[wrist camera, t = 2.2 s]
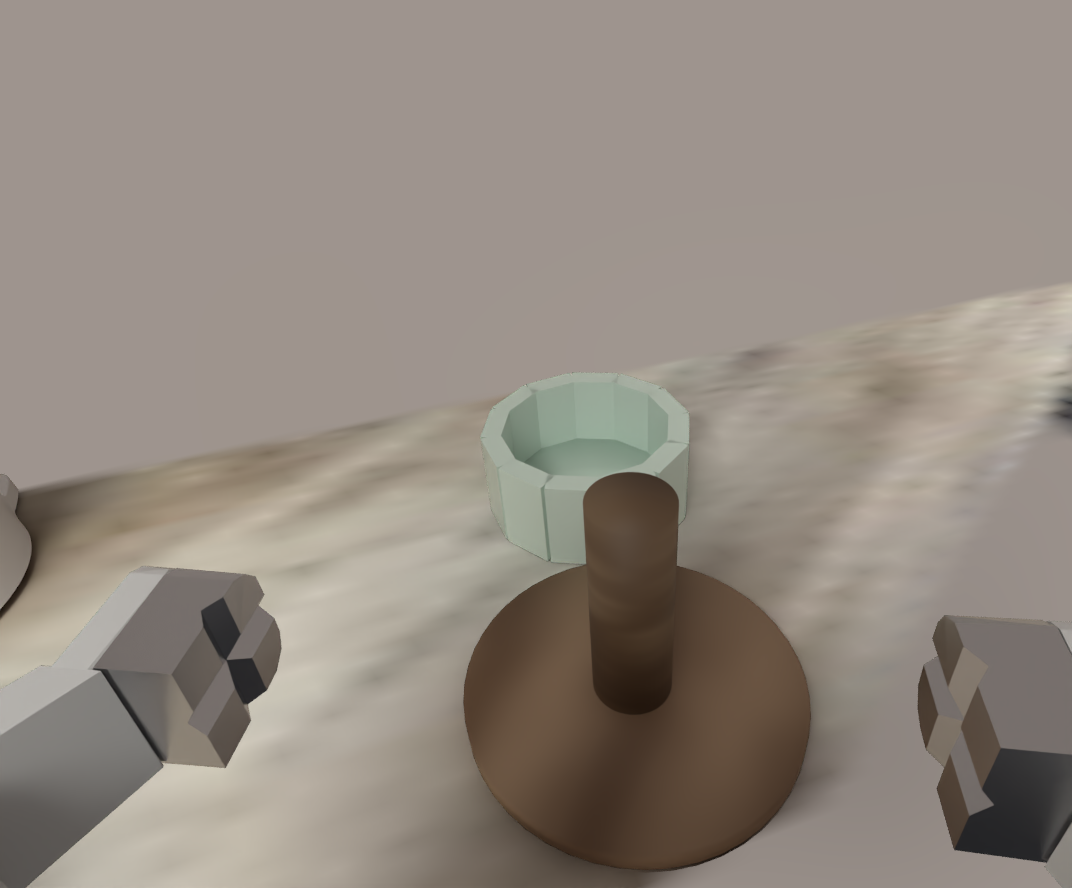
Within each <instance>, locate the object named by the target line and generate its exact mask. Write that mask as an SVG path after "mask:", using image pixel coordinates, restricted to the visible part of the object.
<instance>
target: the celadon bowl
mask: <svg viewBox="0 0 1072 888" xmlns="http://www.w3.org/2000/svg"><path fill="white" fill-rule="evenodd" d="M480 438H481V446H482V453H483V459H484V466H485V472H486V479H487V486H488V492H489V499H490V506H491V510H492V512H493V514H494V516H495V518H496V520H497V522H498V524H499V526H500V527H501V529H502V531H503V533H504V535H505V537H506V539H508V541H510V542H512V543H514V544H515V545H517V546H519V547H521V548H523V549H525V550H527V551H529V552H531V553H533V554H535V555H537V556H538V557H540V558H542V559H544V560H546V561H549V560H550V559H551V562H555V563H572V564H586V551H585V534H584V516H583V498H584V495H585V493H586V491H587V489H588V488H589V487H590V486H591V485H592V484H593V483H595V482H596V481H598V480H599V479H601V478H603V477H605V476H608V475H611V474H615V473H621V472H640V473H646V474H650V475H653V476H656V477H658V478H660V479H662V480H664V481H665V482H667V483H668V484H669V485H670V486H671V487H672V488H673V489H674V490H675V491H676V493H677V495H678V499H679V517H678V525H679V524H680V523H681V522H682V521H683V520H684V519H685V516H686V499H687V478H688V457H689V413H688V411H687V410H686V409H685V408H684V407H683V406H682V405H681V404H680V403H679V402H678V401H677V400H676V399H675V398H674V397H673V396H672V395H671V394H670V393H669V392H668V391H667V390H666V389H665V388H661V386H658V385H655V384H652V383H649V382H646V381H643V380H640V379H637V378H634V377H631V376H627V375H624V374H620V375H619V376H618V373H577V372H576V373H572V375H571V374H570V373H567V374H563V375H559V376H556V377H552V378H548V379H544V380H540V381H536V382H533V383H529V384H526V386H524V385H523V386H522V387H521V388H519V389H518V390H516V391H515V392H513V393H512V394H510V395H509V396H508V397H506V398H505V399H503V400H502V401H500V402H499V403H498V404H496V405H495V406H493V409H491V410H490V413H489V415H488V418H487V421H486V423H485V426H484V429H483V431H482V434H481V436H480Z"/></svg>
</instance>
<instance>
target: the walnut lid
mask: <svg viewBox="0 0 1072 888" xmlns="http://www.w3.org/2000/svg"><path fill="white" fill-rule="evenodd" d="M583 516H584V534H585V551H586V565H583V566H579V567H576V568H572V569H569V570H566V571H563V572H561V573H558V574H555V575H553V576H550V577H548V578H546V579H544V580H542V581H540V582H539V583H537V584H535V585H533V586H531V587H530V588H528V589H527V590H525V591H524V592H522V593H521V594H519V595H518V596H517V597H516V598H515V599H513V600H512V601H511V602H510V603H509V604H507V605H506V606H505V607H504V608H503V609H502V610H501V611H500V612H499V614H498V615H497V616H496V617H495V618H494V619H493V620H492V622H491V623H490V624H489V626H488V627H487V629H486V630H485V631H484V633H483V634H482V636H481V638H480V640H479V642H478V644H477V645H476V647H475V649H474V652H473V655H472V657H471V660H470V663H469V666H468V670H467V675H466V679H465V684H464V713H465V723H466V727H467V732H468V736H469V740H470V744H471V748H472V752H473V756H474V759H475V761H476V764H477V766H478V768H479V771H480V773H481V775H482V777H483V779H484V781H485V782H486V784H487V786H488V787H489V789H490V791H491V792H492V794H493V795H494V797H495V798H496V799H497V800H498V802H499V803H500V804H501V805H502V806H503V808H504V809H505V810H506V811H507V812H508V814H510V815H511V816H512V817H513V818H514V819H515V820H516V821H517V822H518V823H520V824H521V825H522V826H523V827H524V828H525V829H526V830H528V831H529V832H531V833H532V834H534V835H535V836H536V837H538V838H539V839H541V840H542V841H544V842H545V843H547V844H549V845H551V846H553V847H555V848H557V849H559V850H561V851H563V852H565V853H567V854H569V855H572V856H575V857H577V858H580V859H583V860H586V861H589V862H592V863H596V864H601V865H606V866H611V867H616V868H623V869H639V870H653V869H667V868H675V867H680V866H683V867H682V868H680V869H683V868H688V867H693V866H697V865H700V864H703V863H706V862H708V861H711V860H714V859H717V858H719V857H722V856H724V855H726V854H727V853H729V852H731V851H733V850H735V849H736V848H738V847H740V846H742V845H744V844H745V843H746V842H748V841H749V840H750V839H751V838H753V837H754V836H755V835H757V834H758V833H759V832H760V831H762V830H763V829H764V828H763V827H764V825H765V824H766V823H767V822H768V821H769V820H770V819H771V818H772V817H773V816H774V815H775V814H776V813H777V812H778V811H779V809H780V808H781V806H782V805H783V803H784V802H785V800H786V799H787V797H788V796H789V794H790V793H791V791H792V789H793V787H794V784H795V782H796V780H797V778H798V776H799V773H800V770H801V766H802V763H803V759H804V755H805V751H806V747H807V742H808V738H809V730H810V720H811V711H810V696H809V692H808V687H807V683H806V678H805V675H804V672H803V670H802V667H801V665H800V662H799V660H798V657H797V656H796V654H795V652H794V650H793V648H792V647H791V645H790V643H789V641H788V640H787V639H786V637H785V636H784V635H783V633H782V632H781V630H780V629H779V628H778V626H777V625H776V624H775V623H774V622H773V621H772V620H771V619H770V618H769V617H768V616H767V615H766V614H765V613H764V612H763V611H762V610H761V609H760V608H759V607H758V606H756V605H755V604H754V603H753V602H752V601H750V600H749V599H748V598H746V597H745V596H743V595H742V594H740V593H739V592H737V591H736V590H734V589H733V588H731V587H729V586H727V585H725V584H724V583H722V582H720V581H718V580H716V579H714V578H711V577H709V576H706V575H704V574H701V573H699V572H696V571H693V570H690V569H686V568H683V567H680V566H677V542H678V517H679V499H678V495H677V493H676V491H675V490H674V489H673V488H672V487H671V486H670V485H669V484H668V483H667V482H665V481H664V480H662V479H660V478H658V477H656V476H653V475H650V474H646V473H640V472H621V473H615V474H611V475H608V476H605V477H603V478H601V479H599V480H598V481H596V482H595V483H593V484H592V485H591V486H590V487H589V488H588V489H587V491H586V493H585V495H584V498H583ZM761 828H763V829H761Z"/></svg>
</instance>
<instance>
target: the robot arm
mask: <svg viewBox="0 0 1072 888" xmlns="http://www.w3.org/2000/svg"><path fill="white" fill-rule="evenodd" d="M17 501H18V489H17V488H16V486H15V485H14V484H13V482H12V481H11V480H10V479H9V478H8V477H7V476H6V475H3V474H0V609H1V608H2V607H3V606H4V604H5V603H6V602H7V601H8V599H9V598H10V597H11V595H12V594H13V593H14V591H15V590H16V588H17V587H18V585H19V584H20V582H21V580H22V578H23V576H24V574H25V572H26V570H27V567H28V564H29V561H30V557H31V550H32V546H31V539H30V535H29V533H28V531H27V529H26V528H25V527H24V525H23V524H22V523H21V522H20V521H19V519H18V518H17V516H16V513H15V509H16V506H17ZM263 596H264V593H263V591H262V589H261V587H260V585H259V583H258V581H257V579H256V577H255V576H251V575H246V574H237V573H226V572H214V571H203V570H192V569H180V568H176V569H175V568H162V567H150V566H142V567H140V568H138V569H136V570H134V571H132V572H130V573H129V574H128V575H127V576H126V578H125V579H124V580H123V581H122V582H121V584H120V585H119V586H118V587H117V588H116V590H115V591H114V592H113V593H112V594H111V596H110V597H109V598H108V599H107V600H106V602H105V603H104V604H103V605H102V606H101V608H100V609H99V610H98V611H97V612H96V614H95V615H94V616H93V617H92V618H91V620H90V621H89V622H88V623H87V624H86V626H85V627H84V628H83V629H82V630H81V632H80V633H79V634H78V635H77V636H76V638H75V639H74V640H73V641H72V642H71V644H70V645H69V646H68V647H67V648H66V650H65V651H64V652H63V653H62V654H61V656H60V657H59V658H58V659H57V660H56V662H55V663H54V664H53V665H52V666H43V665H41V666H39V667H37V668H36V669H34V670H32V671H31V672H29V673H27V674H25V675H24V676H22V677H20V678H19V679H17V680H15V681H13V682H12V683H10V684H8V685H7V686H5V687H3V688H1V689H0V888H25V887H27V886H28V885H29V884H30V883H31V882H32V881H33V880H35V879H36V878H37V877H38V876H39V875H40V874H41V873H43V872H44V871H45V870H46V869H47V868H48V867H49V866H51V865H52V864H53V863H54V862H55V861H56V860H58V859H59V858H60V857H61V856H62V855H63V854H64V853H66V852H67V851H68V850H69V849H70V848H71V847H72V846H74V845H75V844H76V843H77V842H78V841H79V840H80V839H82V838H83V837H84V836H85V835H86V834H87V833H88V832H90V831H91V830H92V829H93V828H94V827H95V826H96V825H98V824H99V823H100V822H101V821H102V820H103V819H104V818H106V817H107V816H108V815H109V814H110V813H111V812H112V811H114V810H115V809H116V808H117V807H118V806H119V805H120V804H122V803H123V802H124V801H125V800H126V799H127V798H128V797H130V796H131V795H132V794H133V793H134V792H135V791H137V790H138V789H139V788H140V787H141V786H142V785H143V784H145V783H146V782H147V781H148V780H149V779H150V778H151V777H153V776H154V775H155V774H156V773H157V772H158V771H159V770H161V769H162V768H163V766H164V765H163V764H162V763H170V764H183V765H195V766H207V767H219V768H226V766H227V764H228V762H229V761H230V759H231V757H232V755H233V753H234V751H235V749H236V747H237V746H238V744H239V742H240V740H241V738H242V736H243V734H244V733H245V731H246V729H247V727H248V725H249V723H250V721H251V718H250V713H249V707H248V704H249V703H250V702H252V701H253V700H254V699H256V698H257V697H258V696H260V695H261V694H262V693H264V692H265V691H266V690H267V689H268V687H269V685H270V683H271V681H272V679H273V677H274V675H275V673H276V671H277V667H278V662H279V657H280V653H281V639H280V631H279V628H278V626H277V624H276V621H275V619H274V618H273V617H272V616H271V615H270V614H268V613H267V612H266V611H265V610H263V609H262V608H261V607H260V606H259V604H260V602H261V600H262V598H263ZM933 642H934V645H935V648H936V651H937V654H938V656H937V657H935V658H934V659H932V660H931V661H929V662H927V663H926V664H924V666H923V670H922V674H921V677H920V681H919V684H918V714H919V721H920V728H921V732H922V736H923V740H924V743H925V748H926V750H927V751H928V752H929V753H930V754H931V755H932V756H933V757H934V758H935V759H936V760H937V761H938V762H939V763H940V764H941V765H942V766H943V767H944V770H943V773H942V776H941V779H940V781H939V784H938V786H937V791H938V795H939V798H940V802H941V805H942V809H943V812H944V816H945V820H946V823H947V827H948V830H949V834H950V837H951V840H952V844H953V848H954V850H958V851H965V852H973V853H980V854H987V855H994V856H1002V857H1009V858H1017V859H1023V860H1031V861H1038V862H1046V865H1045V868H1046V869H1047V870H1048V871H1049V873H1050V874H1051V875H1052V876H1053V877H1054V878H1055V880H1056V881H1057V882H1058V883H1059V884H1060V885H1061V886H1062V888H1072V622H1061V621H1047V622H1045V621H1043V620H1030V619H1011V618H991V617H971V616H950V615H945V616H944V617H943V618H942V619H941V620H940V621H939V622H938V624H937V626H936V629H935V632H934V635H933Z"/></svg>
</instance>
